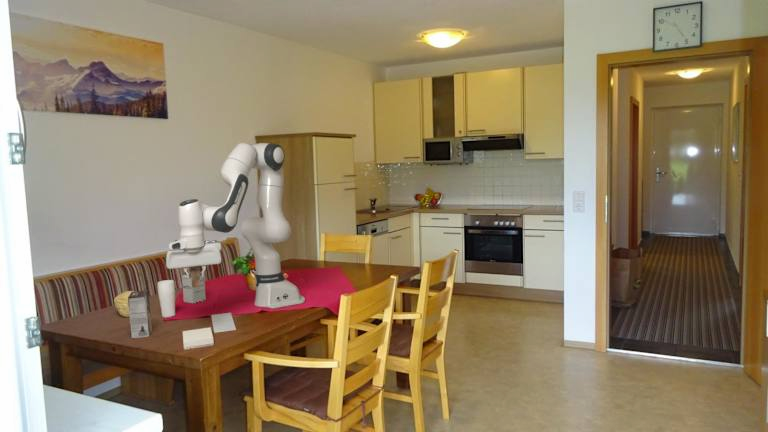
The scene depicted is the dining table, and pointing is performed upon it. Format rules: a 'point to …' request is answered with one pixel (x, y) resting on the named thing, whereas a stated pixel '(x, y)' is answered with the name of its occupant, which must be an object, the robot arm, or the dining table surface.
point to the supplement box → (193, 290)
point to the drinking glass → (167, 297)
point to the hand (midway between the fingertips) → (195, 277)
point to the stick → (195, 276)
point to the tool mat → (223, 322)
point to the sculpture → (123, 303)
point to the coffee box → (140, 314)
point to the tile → (197, 338)
